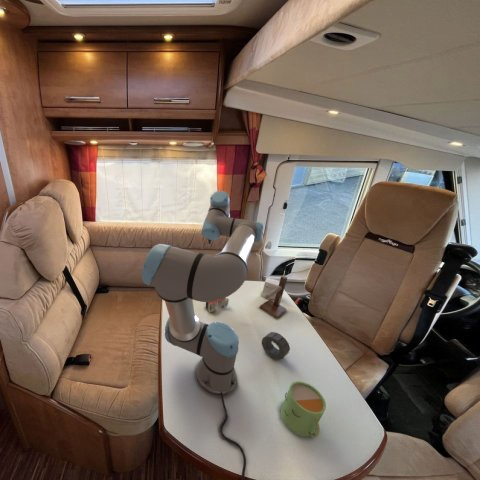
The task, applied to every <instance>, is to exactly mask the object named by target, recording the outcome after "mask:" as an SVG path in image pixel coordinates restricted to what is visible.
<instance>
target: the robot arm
mask: <svg viewBox="0 0 480 480" xmlns="http://www.w3.org/2000/svg"><path fill="white" fill-rule="evenodd" d="M209 203H210V205H209V208H208V211H207V214H206V216H205V219H204V221H203V224H202V226H201V231H200V233H201V235H202V236H203V237H204V238H205V239H206V240H207V242H208V245H211V244H212V241H217V240H218V239H219V238H220V237H221V236H223V237H227V238H229V239H228V240H227V242H226V243H225V245H224V247H223V249H222V250H221V252H219V253H217V254H215V255H211V254H207V253H201V252H197V251H193V250H189V249H185V248H180V247H176V246H172V245H171V244H163V243H159V244H158V243H157V244H155V245H154V246H153V247H152V248H151V249H150V250H149V252H148V254H147V256H146V257H145V261H144V263H143V266H142V271H141V280H142V283H143V284H145V285H147V286H148V287H153V288H154V289H155V292H156V294H157V296H158V297H159V299H161V300H162V301H163V302H164V303H165V307H166V310H167V314H168V319H167V320H166V323H165V327H164V338H165V340H166V341H167V343H169V344H171V345H172V346H175V347H178V348H180V349H183V350H184V351H188V352H190V353H192V354H194V355H197V356H199V357H201V359H200V360H199V361H198V362H197V365H196V373H195V374H196V379H197V381H198V383H199V385H200V386H201V388H203V390H205V391H207V392H208V393H209V394H212V395H214V396H220V398H221V404H222V407H223V410H224V418H223V419H224V420H222V423H221V424H220V425H219V426H220V427H219V432H220V435H221V437H222V438H223V439H224V440H225V441H226V442H229V443H230V444H232V445H235V446H237V448H238V449H239V451H241V454H242V458H243V459H242V460H243V462H242V464H243V465H242V470H241V480H245V475H246V468H247V457H246V454H245V451H244V449H243V447H242V446H241V445H240V443H238V442H236V441H235V440H233V439H231V438H229V437H227V436H226V435H225V434H224V432H223V428H224V426H225V425H226V423H227V421H228V411H227V408H226V404H225V399H224V396H225V395H228V394H230V393H231V392H233V390H234V389H235V387H236V384H237V374H236V370H235V364H236V359H237V354H238V353H239V348H240V347H239V346H240V345H239V344H240V340H239V336H238V334H237V333H236V330H235V329H234V328H233V327H231V326H230V325H228V324H226V323H224V322H221V321H216V322H214V321H213V322H211V323H209V324H208V323H205V322H202V321H200V319H199V317H198V315H197V314H196V313H195V309H194V308H195V307H194V301H196V302H199V303H206V302H213V301H218V300H221V299H224V298H227V297H230V296H231V295H233V294H234V293H236V292H237V291H238V290H239V289H240V288H241V287H242V286H243V285H244V283H245V281H246V279H247V277H248V272H249V270H248V269H249V267H248V264H247V262H248V260H249V257H250V254H251V251H252V248H253V245H254V243H260V242H261V241H262V236H263V232H264V229H265V228H264V227H265V225H264V223H263V222H260V221H255V220H250V219H249V220H247V219H242V218H236V217H231V211H230V208H231V207H230V204H231V200H230V195H229V194H228V192H226V191H225V190H216V191H213V192H212V194H210V197H209Z"/></svg>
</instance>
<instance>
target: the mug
mask: <svg viewBox="0 0 480 480" xmlns="http://www.w3.org/2000/svg"><path fill="white" fill-rule="evenodd" d="M284 398H285V399H284V401H283V403H282V406H281V409H280V416H281V419H282V421H283V423H284V424H285V425H286V426H287V428H288V429H289V430H290V431H292V432H293V433H294V434H296V435H298V436H301V437H310V436H311V437H312V438H317V437H318V436H319V433H320V424H319V423H320V421H321V419H322V417H323V415H324V414H325V412H326V410H327V409H326V408H327V403H326V399H325V398H324V396H323V394H322V393H321V392H320V391H319V390H318V389H317V388H316V387H314V386H313V385H311V384H309V383H307V382H305V381H300V380H299V381H294V382H292V383H291V384H290V386H289V388H288V390H287V392H285V394H284ZM315 430H316V432H315ZM314 433H315V434H314Z"/></svg>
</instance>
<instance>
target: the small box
mask: <svg viewBox="0 0 480 480" xmlns="http://www.w3.org/2000/svg"><path fill="white" fill-rule="evenodd" d="M279 282H280V280H277V279H274V278H270V277H266V278H265V281H264V284H263V288H262V292H261V297H263V298H264V295H265V294H268V293H269V292H271V291H272V290H274V289H275V288H277V287H278V286H279ZM275 296H276V293H275V294H274V295H272V296H271V297H270V298H269V299H270V300H272V301H274V300H275ZM269 299H268V300H269Z"/></svg>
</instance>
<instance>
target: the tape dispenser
mask: <svg viewBox="0 0 480 480" xmlns="http://www.w3.org/2000/svg"><path fill="white" fill-rule="evenodd" d="M229 303H230V299H229V298H227V297H226V298H224V299H221V300H218V301H213V302H205V309H206V310H207V311H208V312H209V313H213V312H215V311H216V304H217V306H218V307H220V308H221V307H226V308H227V307H228V305H229Z"/></svg>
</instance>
